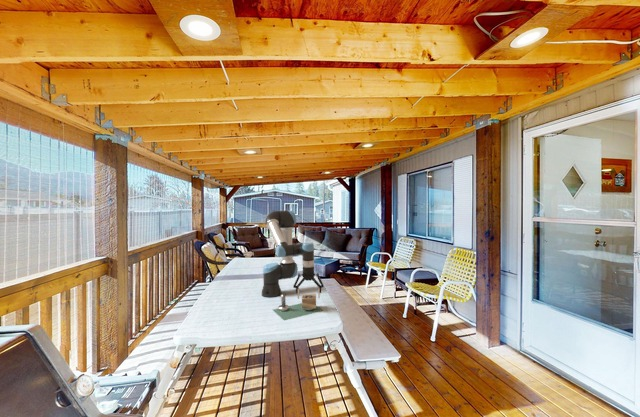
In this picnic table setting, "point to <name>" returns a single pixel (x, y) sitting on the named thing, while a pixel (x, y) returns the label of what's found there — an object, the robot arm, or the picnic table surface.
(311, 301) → the square wooden frame
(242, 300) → the picnic table surface
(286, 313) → the mat
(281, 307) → the stand
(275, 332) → the picnic table surface
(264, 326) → the picnic table surface
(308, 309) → the hub
